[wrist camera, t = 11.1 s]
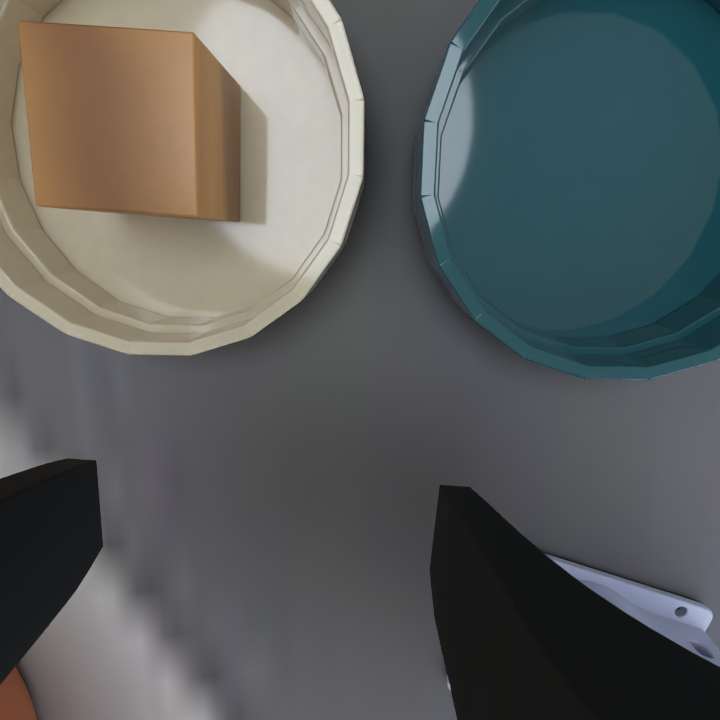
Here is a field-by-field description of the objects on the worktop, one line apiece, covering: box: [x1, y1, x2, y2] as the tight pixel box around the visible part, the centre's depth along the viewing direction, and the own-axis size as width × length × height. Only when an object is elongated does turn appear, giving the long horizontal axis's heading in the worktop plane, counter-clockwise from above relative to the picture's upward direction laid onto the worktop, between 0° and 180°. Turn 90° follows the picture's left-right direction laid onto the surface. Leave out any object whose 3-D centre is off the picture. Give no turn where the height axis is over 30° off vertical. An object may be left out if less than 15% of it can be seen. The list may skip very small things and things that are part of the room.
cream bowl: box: [0, 0, 366, 356], centre depth 15 cm, size 13×13×4 cm
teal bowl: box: [412, 0, 720, 380], centre depth 15 cm, size 13×13×4 cm
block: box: [18, 21, 241, 222], centre depth 14 cm, size 4×4×4 cm
